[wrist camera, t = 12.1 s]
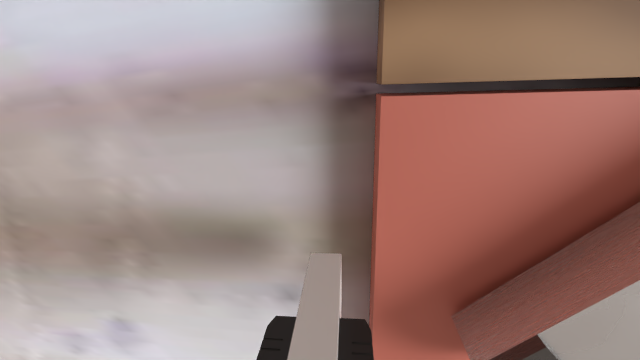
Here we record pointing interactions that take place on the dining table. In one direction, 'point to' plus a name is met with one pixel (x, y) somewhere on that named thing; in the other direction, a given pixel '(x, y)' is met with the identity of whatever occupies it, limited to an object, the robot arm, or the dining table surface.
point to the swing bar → (565, 303)
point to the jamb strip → (506, 40)
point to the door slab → (486, 198)
